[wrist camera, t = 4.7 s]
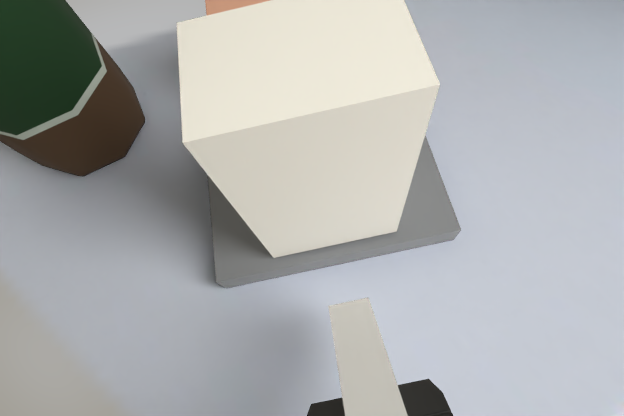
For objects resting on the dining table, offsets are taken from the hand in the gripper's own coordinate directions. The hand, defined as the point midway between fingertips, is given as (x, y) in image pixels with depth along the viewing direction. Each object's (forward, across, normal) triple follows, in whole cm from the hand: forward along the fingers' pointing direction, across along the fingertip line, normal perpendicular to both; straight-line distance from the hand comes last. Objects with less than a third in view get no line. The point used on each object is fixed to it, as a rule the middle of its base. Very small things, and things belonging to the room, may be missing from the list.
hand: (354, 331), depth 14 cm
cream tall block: (+6, 0, +3) cm, 7 cm away
